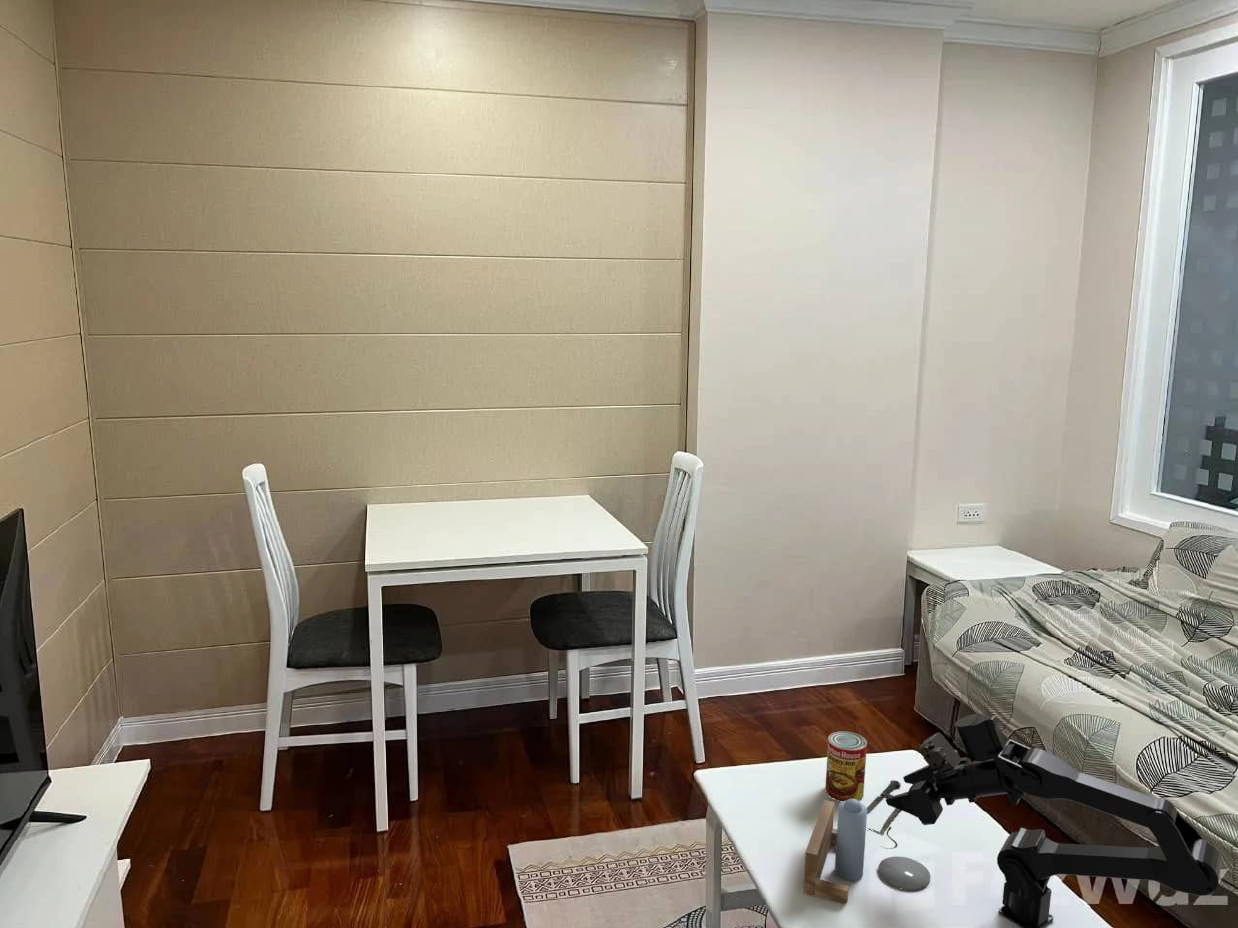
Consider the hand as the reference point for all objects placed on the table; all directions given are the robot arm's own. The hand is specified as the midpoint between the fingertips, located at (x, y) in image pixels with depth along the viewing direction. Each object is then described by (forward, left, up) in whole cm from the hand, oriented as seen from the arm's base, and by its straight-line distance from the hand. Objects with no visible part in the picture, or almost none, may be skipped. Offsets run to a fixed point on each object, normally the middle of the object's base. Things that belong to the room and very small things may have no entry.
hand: (895, 790), depth 169 cm
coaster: (-3, 0, -15) cm, 15 cm away
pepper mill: (+3, +8, -15) cm, 17 cm away
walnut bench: (+5, +10, -15) cm, 19 cm away
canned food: (+22, -12, -15) cm, 29 cm away
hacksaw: (+11, -14, -16) cm, 24 cm away
